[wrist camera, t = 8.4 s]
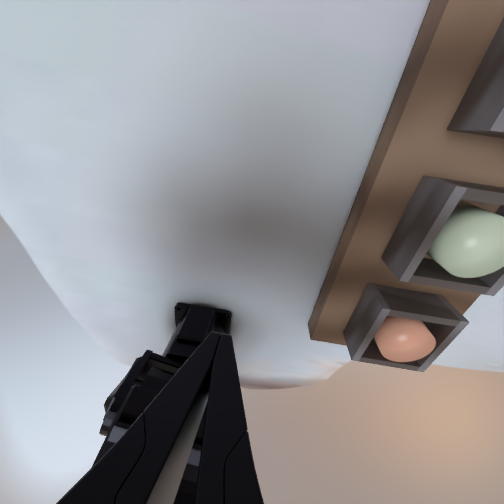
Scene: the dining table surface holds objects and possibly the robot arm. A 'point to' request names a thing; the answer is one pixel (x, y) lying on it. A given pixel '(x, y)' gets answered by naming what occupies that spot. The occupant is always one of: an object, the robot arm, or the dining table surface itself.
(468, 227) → the sage button
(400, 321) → the terracotta button
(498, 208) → the button panel
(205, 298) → the dining table surface
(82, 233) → the dining table surface
